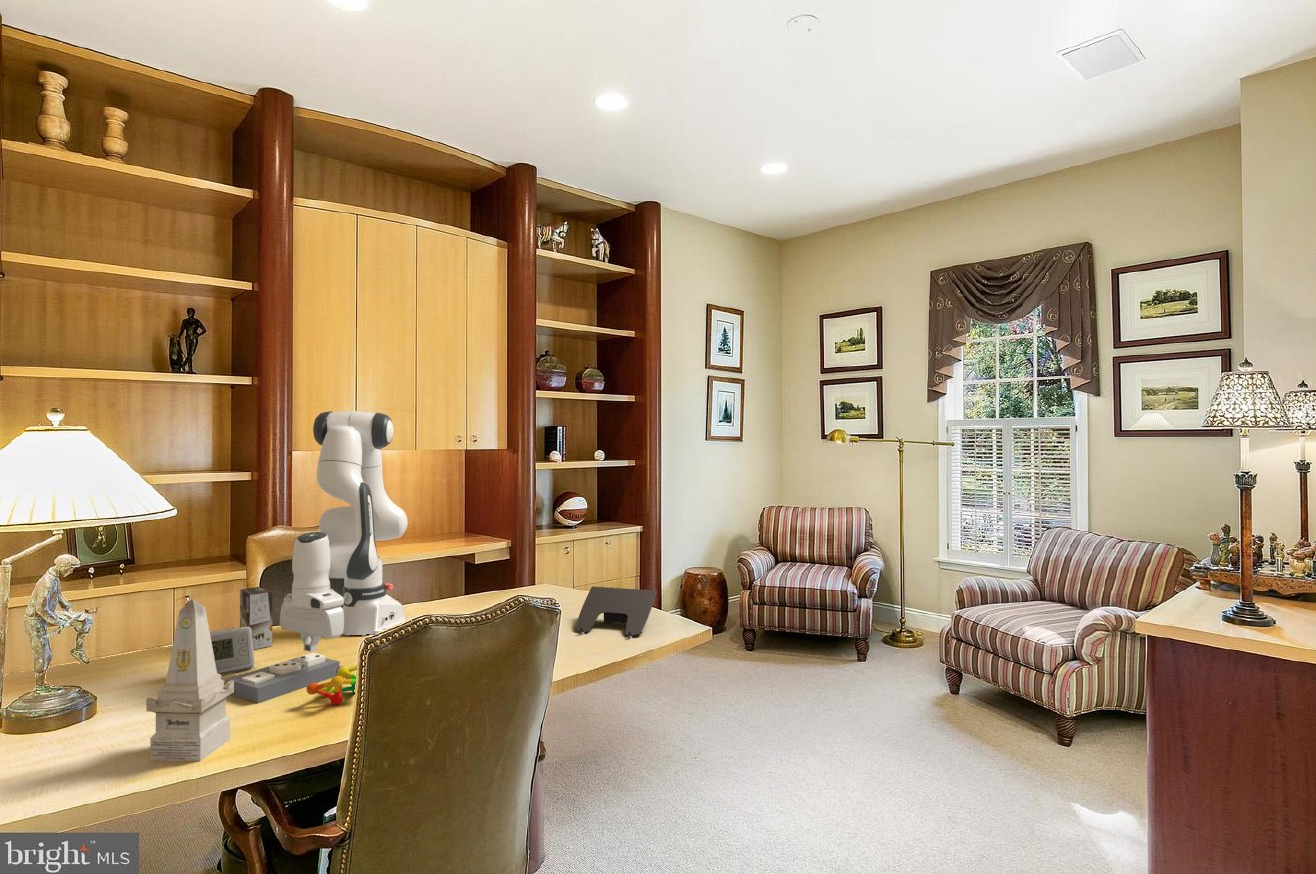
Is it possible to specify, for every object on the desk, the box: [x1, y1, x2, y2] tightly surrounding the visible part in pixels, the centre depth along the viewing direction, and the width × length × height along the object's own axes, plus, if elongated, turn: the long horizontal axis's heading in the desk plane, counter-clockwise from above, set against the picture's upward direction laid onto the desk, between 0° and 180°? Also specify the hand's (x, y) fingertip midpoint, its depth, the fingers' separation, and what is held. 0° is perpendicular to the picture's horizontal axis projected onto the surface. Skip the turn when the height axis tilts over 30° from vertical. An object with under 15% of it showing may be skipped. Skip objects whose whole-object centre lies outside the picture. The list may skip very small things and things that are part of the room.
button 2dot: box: [295, 652, 326, 667], centre depth 184 cm, size 5×5×3 cm
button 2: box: [268, 659, 301, 675], centre depth 178 cm, size 5×5×3 cm
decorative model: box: [306, 664, 358, 706], centre depth 169 cm, size 13×9×15 cm
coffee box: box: [239, 586, 273, 651], centre depth 208 cm, size 9×6×16 cm
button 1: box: [242, 672, 275, 684], centre depth 172 cm, size 5×5×3 cm
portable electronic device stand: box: [575, 586, 658, 639], centre depth 233 cm, size 23×23×9 cm
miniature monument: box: [145, 597, 234, 762], centre depth 141 cm, size 10×10×30 cm
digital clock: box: [210, 627, 255, 676], centre depth 185 cm, size 16×9×11 cm, turn 122°
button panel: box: [225, 657, 341, 704], centre depth 178 cm, size 22×12×4 cm, turn 153°
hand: (310, 651), depth 183 cm, fingers closed
